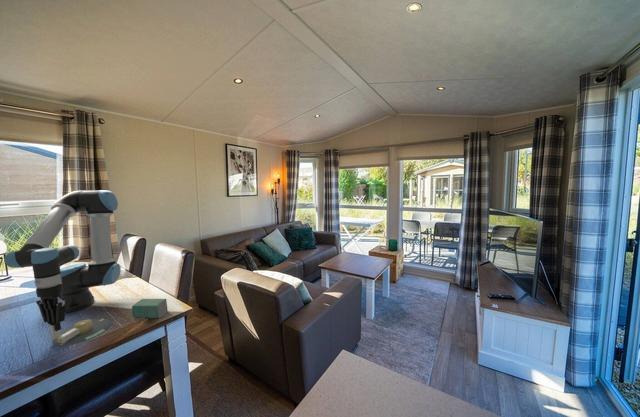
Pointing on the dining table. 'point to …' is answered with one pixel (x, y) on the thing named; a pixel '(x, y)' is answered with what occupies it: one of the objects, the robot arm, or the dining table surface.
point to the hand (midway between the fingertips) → (56, 337)
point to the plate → (98, 329)
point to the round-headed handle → (76, 330)
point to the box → (150, 308)
